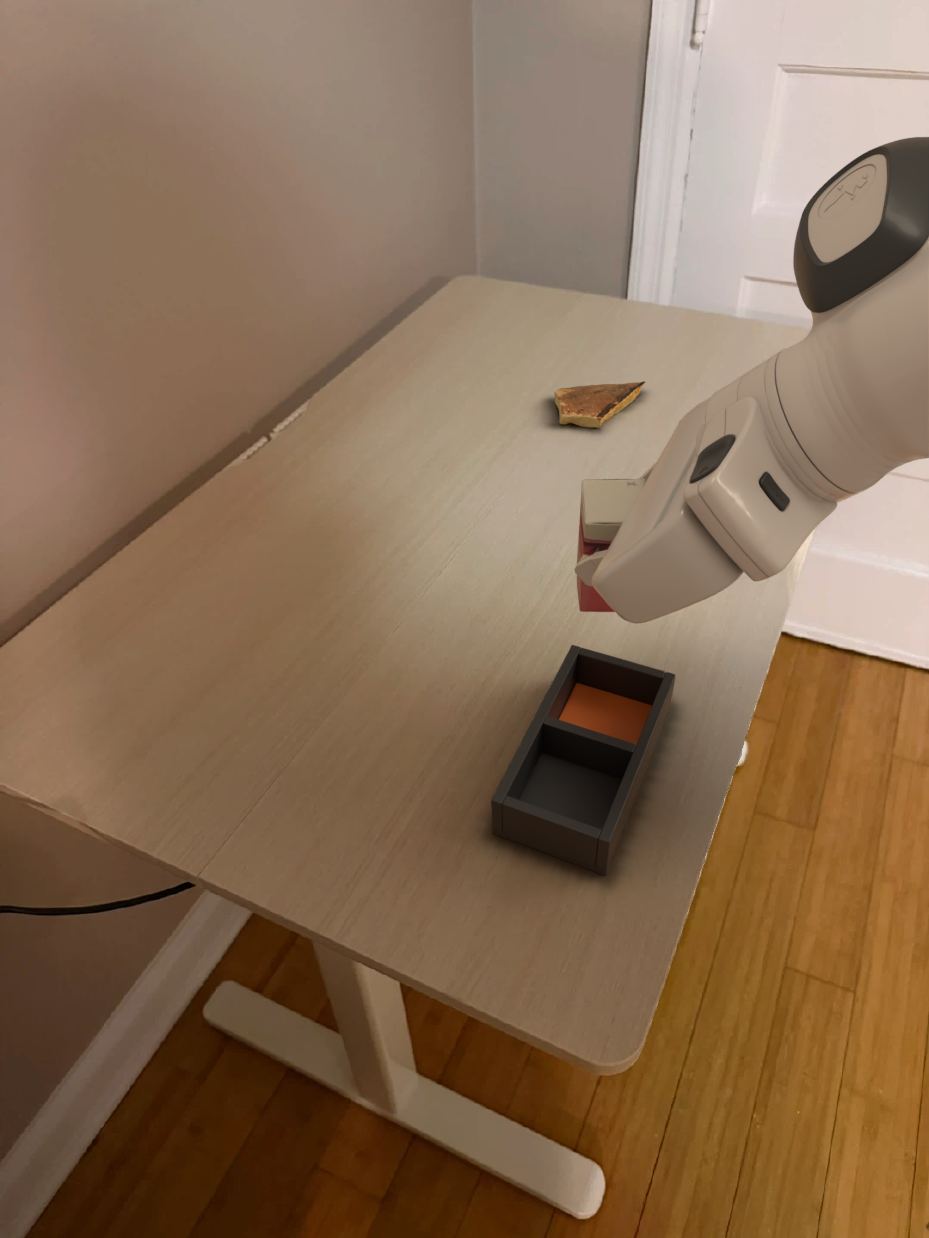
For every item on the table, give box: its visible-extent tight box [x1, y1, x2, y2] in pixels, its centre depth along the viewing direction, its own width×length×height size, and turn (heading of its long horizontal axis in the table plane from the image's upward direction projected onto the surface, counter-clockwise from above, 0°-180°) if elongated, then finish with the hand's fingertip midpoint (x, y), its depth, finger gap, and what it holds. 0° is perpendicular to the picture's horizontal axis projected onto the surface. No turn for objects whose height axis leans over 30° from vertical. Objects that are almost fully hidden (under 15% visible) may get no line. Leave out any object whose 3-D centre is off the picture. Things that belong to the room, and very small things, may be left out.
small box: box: [576, 478, 645, 613], centre depth 60 cm, size 5×4×8 cm
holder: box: [490, 644, 677, 876], centre depth 65 cm, size 8×16×4 cm, turn 155°
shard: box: [553, 380, 646, 429], centre depth 102 cm, size 11×8×2 cm
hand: (602, 539), depth 60 cm, fingers closed on small box, 6 cm apart
